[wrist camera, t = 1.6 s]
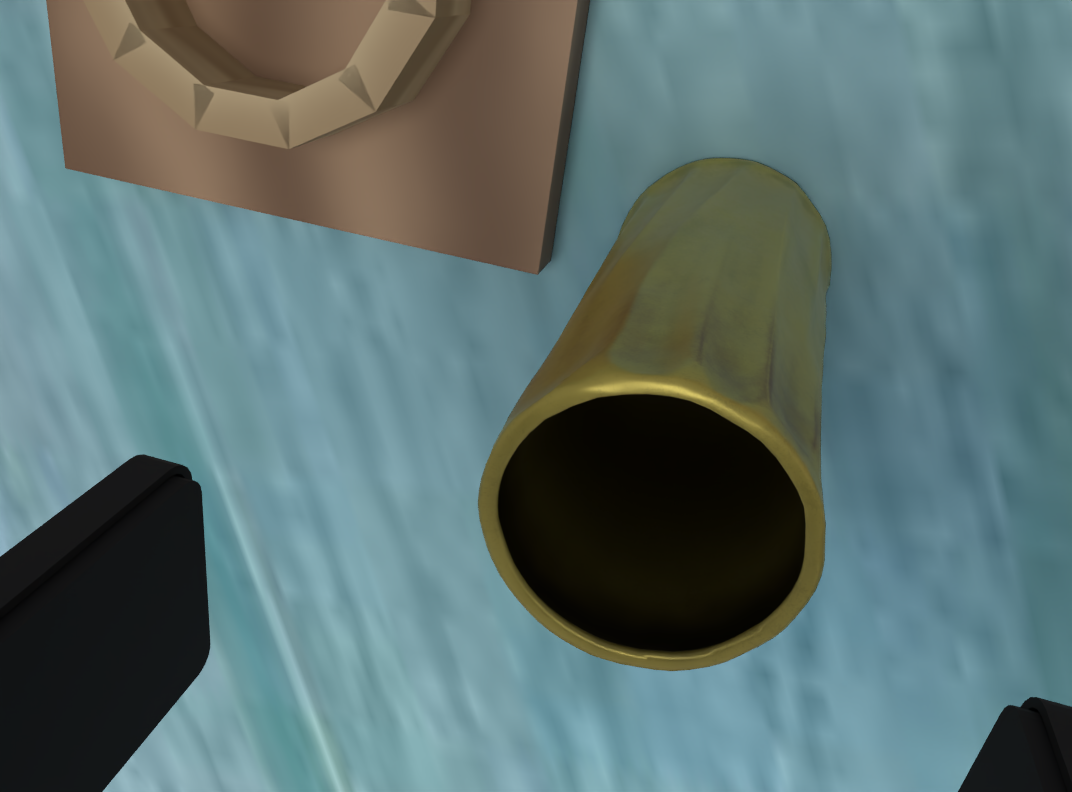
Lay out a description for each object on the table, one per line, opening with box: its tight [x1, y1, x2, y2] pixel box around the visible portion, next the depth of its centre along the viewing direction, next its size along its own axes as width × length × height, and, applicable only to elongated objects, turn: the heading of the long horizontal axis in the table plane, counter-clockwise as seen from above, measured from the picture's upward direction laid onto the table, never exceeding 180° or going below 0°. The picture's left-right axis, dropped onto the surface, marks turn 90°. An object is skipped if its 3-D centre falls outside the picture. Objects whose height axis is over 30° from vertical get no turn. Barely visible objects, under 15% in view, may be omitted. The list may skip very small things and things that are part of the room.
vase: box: [478, 158, 831, 671], centre depth 19 cm, size 6×6×14 cm
